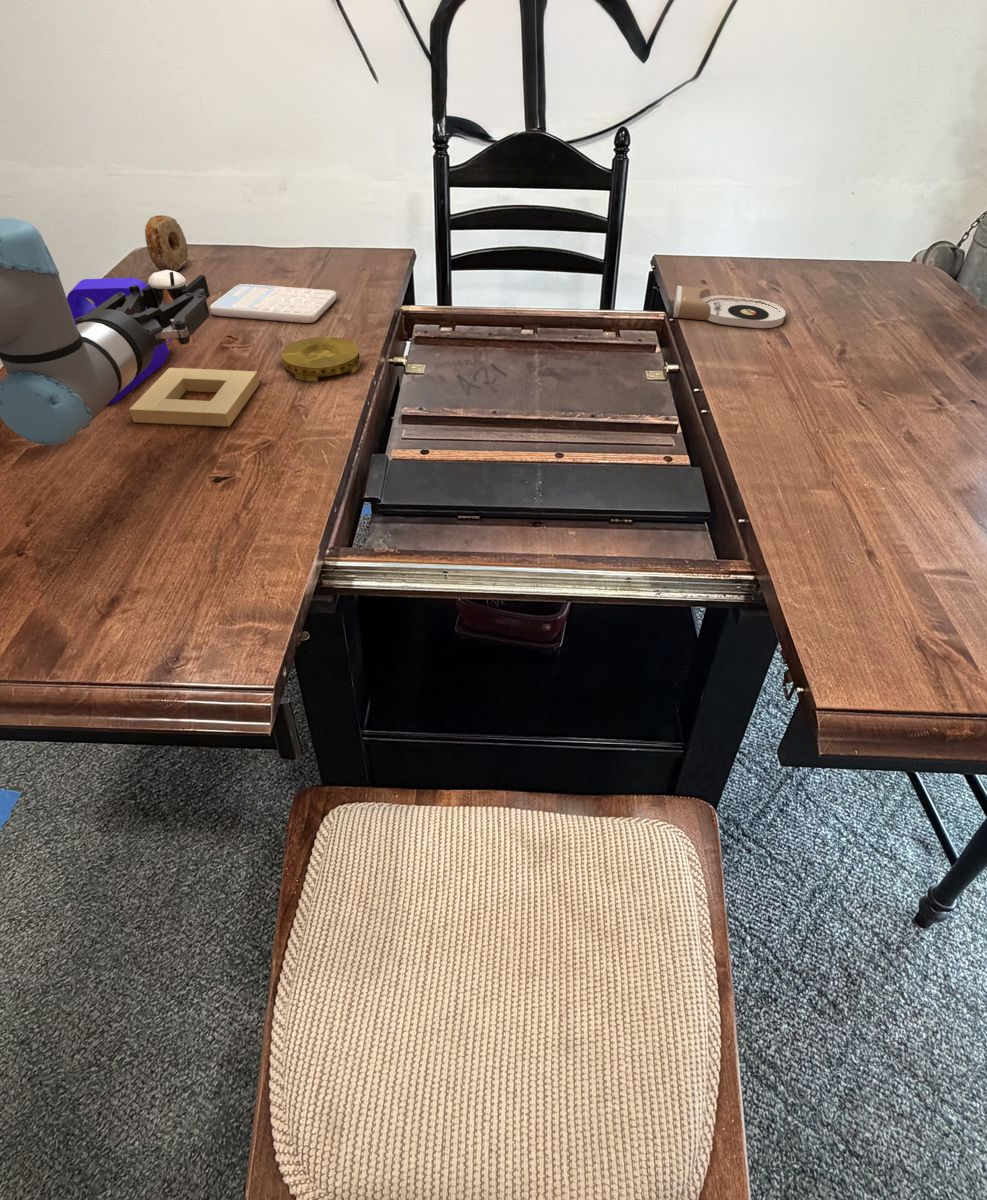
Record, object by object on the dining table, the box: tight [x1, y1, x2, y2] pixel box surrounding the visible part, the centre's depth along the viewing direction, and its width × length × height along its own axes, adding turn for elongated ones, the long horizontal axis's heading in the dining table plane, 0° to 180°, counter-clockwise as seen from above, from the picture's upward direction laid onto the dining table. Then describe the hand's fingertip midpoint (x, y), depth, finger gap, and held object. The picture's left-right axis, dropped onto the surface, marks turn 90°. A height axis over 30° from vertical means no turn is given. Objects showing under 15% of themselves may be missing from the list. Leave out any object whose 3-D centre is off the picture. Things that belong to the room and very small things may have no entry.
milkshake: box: [147, 270, 196, 347], centre depth 94 cm, size 4×5×10 cm
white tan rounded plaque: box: [673, 285, 787, 329], centre depth 132 cm, size 12×3×20 cm
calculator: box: [209, 283, 338, 324], centre depth 132 cm, size 13×20×2 cm, turn 80°
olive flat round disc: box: [281, 336, 361, 382], centre depth 113 cm, size 12×12×2 cm
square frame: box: [128, 367, 261, 428], centre depth 103 cm, size 14×14×2 cm
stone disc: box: [144, 214, 189, 272], centre depth 144 cm, size 10×4×10 cm, turn 169°
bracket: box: [66, 277, 170, 405], centre depth 105 cm, size 18×11×12 cm, turn 7°
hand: (186, 285), depth 97 cm, fingers closed on milkshake, 4 cm apart
